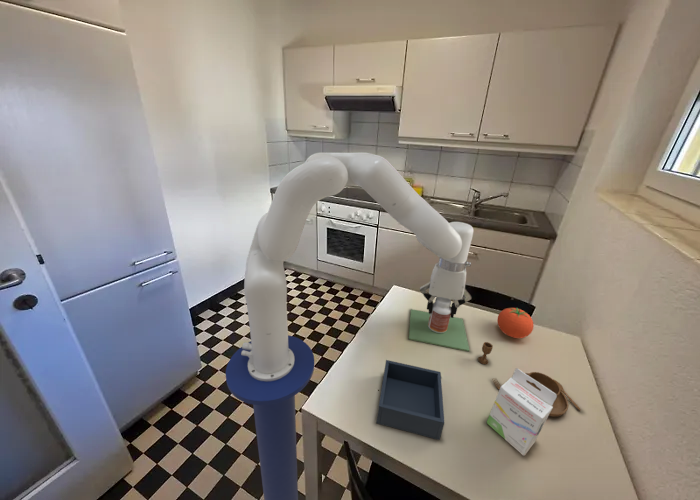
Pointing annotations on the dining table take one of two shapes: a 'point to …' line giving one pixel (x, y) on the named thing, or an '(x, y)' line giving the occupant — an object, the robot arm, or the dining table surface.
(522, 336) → the tomato
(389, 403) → the blue open box
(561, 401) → the place setting
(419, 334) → the mat
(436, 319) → the pill bottle
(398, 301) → the dining table surface
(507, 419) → the ink box
